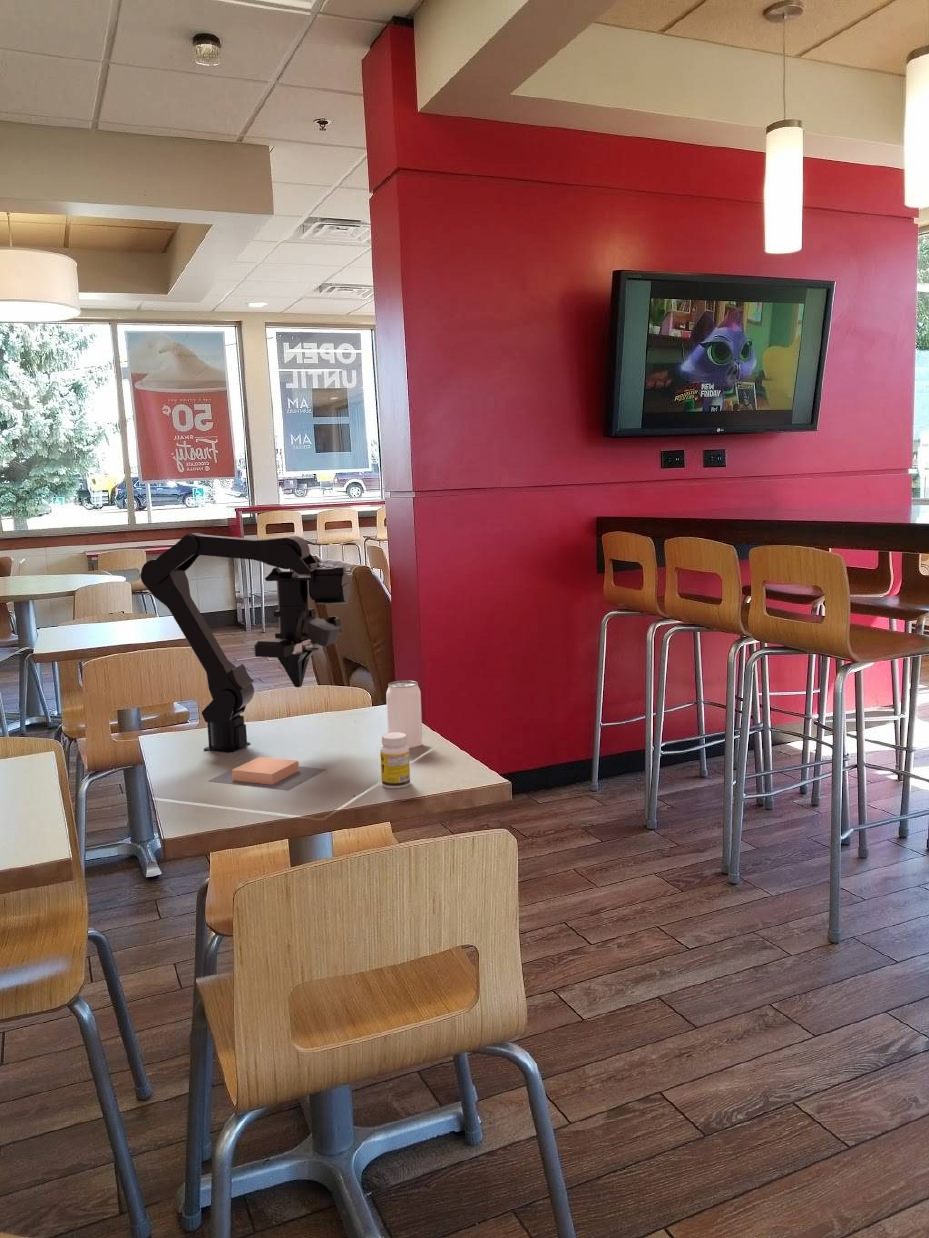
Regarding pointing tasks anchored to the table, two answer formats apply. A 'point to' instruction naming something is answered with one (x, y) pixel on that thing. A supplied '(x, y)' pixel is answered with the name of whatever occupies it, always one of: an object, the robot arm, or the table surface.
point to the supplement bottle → (395, 761)
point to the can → (405, 711)
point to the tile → (265, 770)
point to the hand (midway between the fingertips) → (298, 686)
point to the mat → (284, 784)
